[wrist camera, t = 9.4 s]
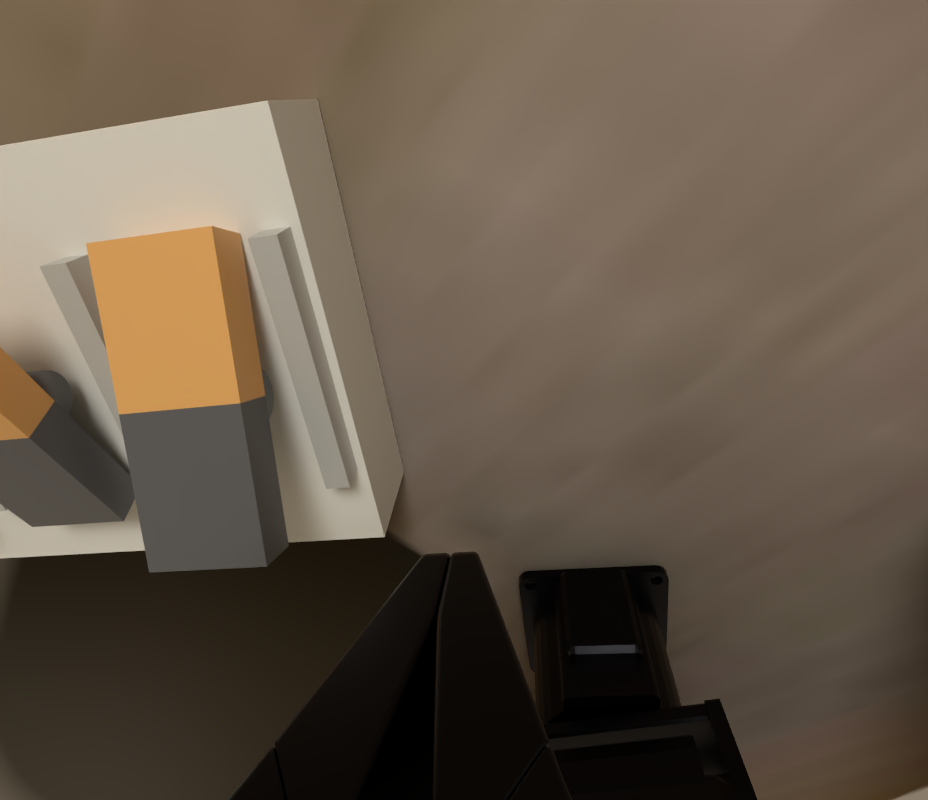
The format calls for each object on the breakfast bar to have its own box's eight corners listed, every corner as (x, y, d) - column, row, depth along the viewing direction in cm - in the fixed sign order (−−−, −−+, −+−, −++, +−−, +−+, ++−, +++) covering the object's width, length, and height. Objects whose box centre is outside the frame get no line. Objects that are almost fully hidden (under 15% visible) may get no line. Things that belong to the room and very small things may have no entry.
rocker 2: (302, 533, 18) (266, 566, 15) (198, 538, 18) (149, 572, 16) (257, 238, 17) (211, 225, 14) (147, 252, 17) (85, 243, 15)
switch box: (405, 477, 24) (380, 563, 20) (-8, 506, 27) (-111, 587, 22) (317, 99, 17) (250, 101, 13) (-219, 188, 20) (-422, 215, 16)
